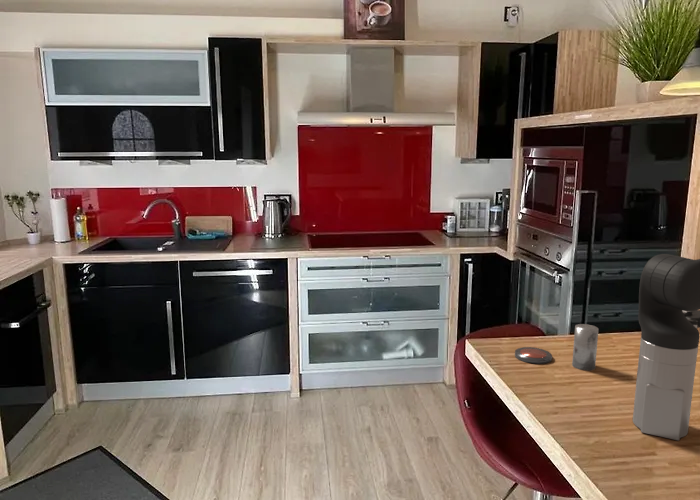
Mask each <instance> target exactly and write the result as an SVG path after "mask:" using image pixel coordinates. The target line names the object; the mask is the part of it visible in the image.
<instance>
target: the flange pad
mask: <svg viewBox="0 0 700 500" xmlns="http://www.w3.org/2000/svg"><path fill="white" fill-rule="evenodd" d="M514 357H515V358H516V359H517V360H519V361H521V362H524V363H528V364H533V365H543V364H545V365H546V364H549V363H551V362H552V360H553V355H552V353H551V352H550V351H548V350H546V349H543V348H540V347H532V346H530V347H529V346H527V347H526V346H524V347H518V348H516V349H515V352H514Z"/></svg>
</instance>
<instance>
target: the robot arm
mask: <svg viewBox="0 0 700 500" xmlns="http://www.w3.org/2000/svg"><path fill="white" fill-rule="evenodd" d="M638 288H639V290H638V291H639V292H638V314H637V315H638V316H637V319H638V323H639V326H640V329H641V330H640V331H641V332H640V333H641V335H640V345H639V351H638V352H639V353H638V354H639V355H638V364H637V371H636V372H637V373H636V381H635V392H634V403H633V414H632V422H633V424H634V425H635V427H636V428H639V429H640V433H644V434H648V435H652V436H657V437H661V438H666V439H669V440H670V439H671V440H675V441H680V439H681V438H684V437H685V436H687V435H688V434H689V427H690V418H691V417H690V416H691V408H692V401H693V391H694V386H695V385H694V384H695V383H694V382H695V376H696V367H697V360H698V353H699V352H698V351H699V346H700V345H699V343H700V330H698V329H700V258H698V259H692V258H687V257H683V256H679V255H674V254H668V253H661V254H657V255H656V254H655V255H654V256H653V257H651V258H650V259H648V261H647V262H646V263H645V265H644V267H643V269H642V271H641V274H640V281H639V287H638Z"/></svg>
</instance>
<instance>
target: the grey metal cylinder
mask: <svg viewBox="0 0 700 500" xmlns="http://www.w3.org/2000/svg"><path fill="white" fill-rule="evenodd" d="M573 336H574V337H573V349H572V350H573V351H572V362H571V366H572V367H573V368H575V369H577V370H580V371H594V370H595V369H596V361H597V351H598V342H599V341H598V339H599V327H597V326H595V325H592V324H585V323H579V324H575V326H574V335H573Z"/></svg>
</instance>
